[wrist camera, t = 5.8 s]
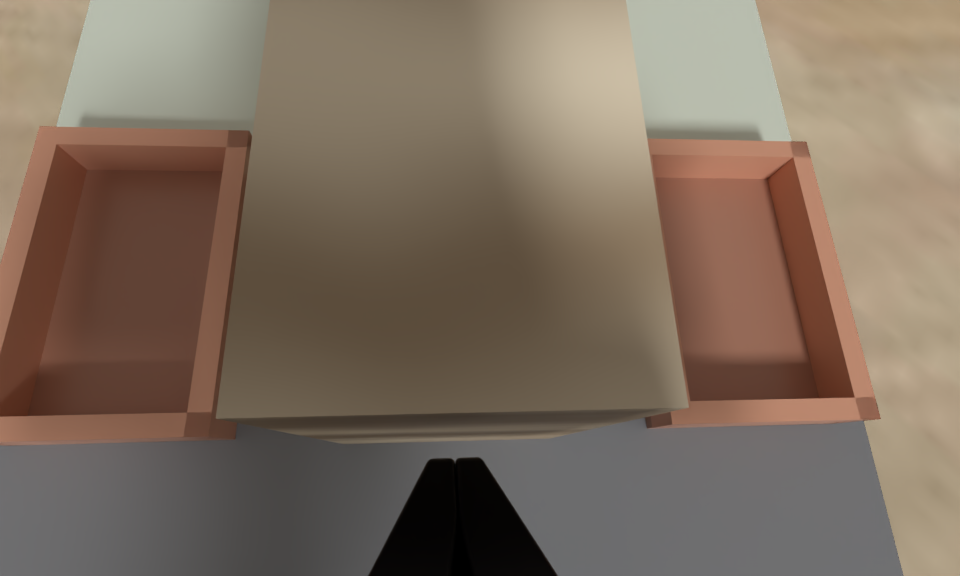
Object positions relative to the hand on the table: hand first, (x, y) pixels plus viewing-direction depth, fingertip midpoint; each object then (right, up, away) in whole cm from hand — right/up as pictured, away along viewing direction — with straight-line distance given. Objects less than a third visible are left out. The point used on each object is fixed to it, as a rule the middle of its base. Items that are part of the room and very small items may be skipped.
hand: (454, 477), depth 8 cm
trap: (-10, +3, +8) cm, 13 cm away
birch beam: (-1, +6, +9) cm, 11 cm away
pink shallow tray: (+8, +3, +9) cm, 13 cm away
